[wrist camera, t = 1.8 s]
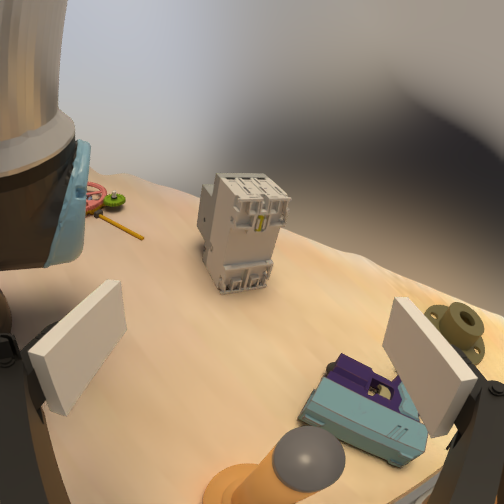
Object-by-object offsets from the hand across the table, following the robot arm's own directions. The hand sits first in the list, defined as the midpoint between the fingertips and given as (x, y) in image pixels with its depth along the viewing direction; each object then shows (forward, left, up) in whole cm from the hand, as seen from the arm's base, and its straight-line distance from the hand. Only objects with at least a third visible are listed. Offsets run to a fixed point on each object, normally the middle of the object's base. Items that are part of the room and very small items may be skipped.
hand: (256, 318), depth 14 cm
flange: (+46, +6, -21) cm, 51 cm away
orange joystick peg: (+2, -6, -20) cm, 21 cm away
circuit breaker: (+10, +30, -21) cm, 38 cm away
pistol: (+20, +1, -21) cm, 29 cm away
